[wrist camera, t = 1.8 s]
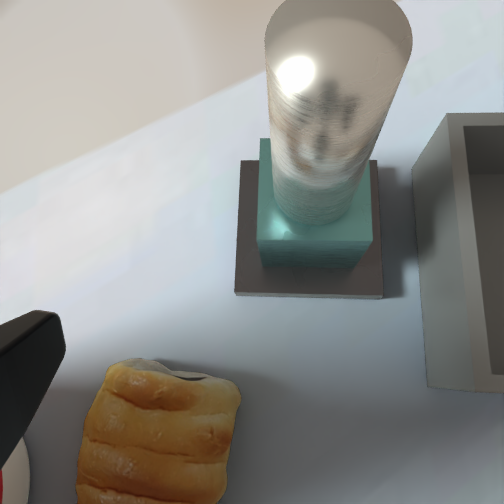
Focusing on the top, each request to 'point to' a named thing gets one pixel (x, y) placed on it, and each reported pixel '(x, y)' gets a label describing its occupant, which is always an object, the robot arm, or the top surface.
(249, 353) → the top surface
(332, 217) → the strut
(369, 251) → the stud stand
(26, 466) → the fruit juice
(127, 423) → the pastry
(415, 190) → the bin
